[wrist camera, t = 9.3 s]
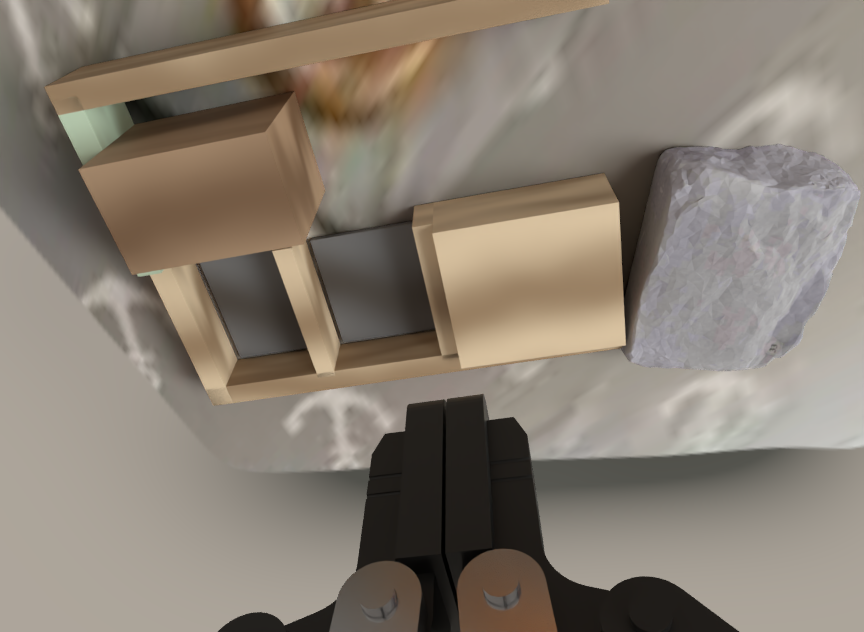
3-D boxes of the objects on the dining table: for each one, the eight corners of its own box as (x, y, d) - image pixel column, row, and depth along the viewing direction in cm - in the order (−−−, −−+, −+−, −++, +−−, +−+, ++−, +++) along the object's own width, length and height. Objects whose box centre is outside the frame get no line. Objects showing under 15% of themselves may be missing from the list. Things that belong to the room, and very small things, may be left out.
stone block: (829, 131, 34) (642, 137, 32) (899, 170, 30) (691, 179, 28) (754, 323, 41) (597, 336, 39) (803, 375, 37) (632, 392, 35)
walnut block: (135, 123, 32) (78, 169, 27) (294, 90, 31) (265, 132, 26) (177, 217, 35) (132, 274, 30) (325, 189, 34) (303, 244, 29)
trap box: (82, 66, 31) (44, 87, 28) (590, -42, 28) (607, -32, 25) (225, 378, 41) (208, 417, 38) (612, 321, 38) (626, 359, 35)
